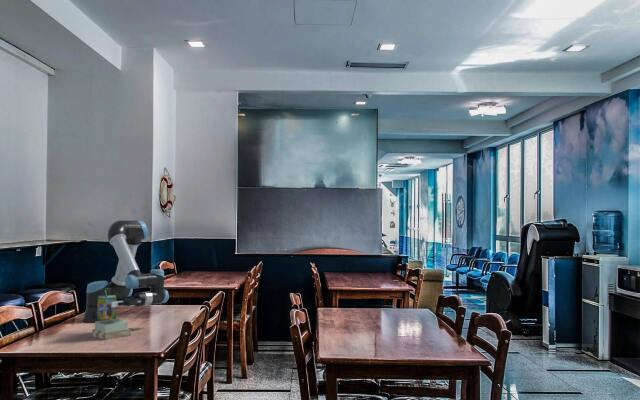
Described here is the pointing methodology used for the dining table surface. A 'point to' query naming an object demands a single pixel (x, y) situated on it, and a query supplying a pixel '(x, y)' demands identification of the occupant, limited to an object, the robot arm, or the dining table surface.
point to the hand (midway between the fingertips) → (105, 303)
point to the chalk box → (106, 307)
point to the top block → (111, 325)
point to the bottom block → (111, 334)
